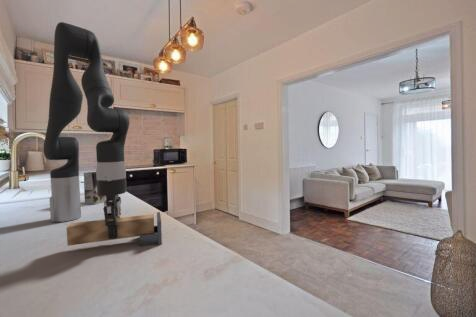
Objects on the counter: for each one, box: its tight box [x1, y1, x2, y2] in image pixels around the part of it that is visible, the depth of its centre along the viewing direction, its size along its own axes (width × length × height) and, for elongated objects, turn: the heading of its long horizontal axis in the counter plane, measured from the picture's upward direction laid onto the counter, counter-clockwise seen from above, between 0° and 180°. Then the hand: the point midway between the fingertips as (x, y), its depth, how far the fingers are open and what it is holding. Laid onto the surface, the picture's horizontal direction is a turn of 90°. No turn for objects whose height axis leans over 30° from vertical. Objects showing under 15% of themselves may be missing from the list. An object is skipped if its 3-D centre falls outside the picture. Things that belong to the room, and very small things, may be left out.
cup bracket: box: [139, 211, 163, 247], centre depth 72 cm, size 6×10×7 cm, turn 20°
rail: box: [66, 213, 155, 246], centre depth 68 cm, size 22×4×5 cm, turn 110°
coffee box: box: [83, 171, 106, 205], centre depth 122 cm, size 9×6×16 cm
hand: (114, 235), depth 68 cm, fingers closed on rail, 4 cm apart
